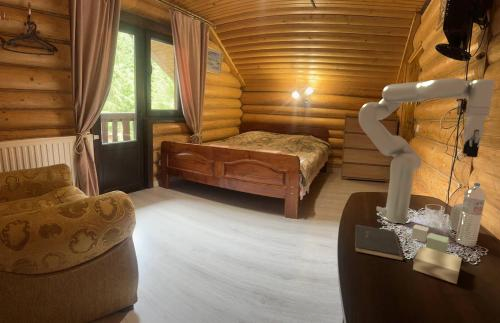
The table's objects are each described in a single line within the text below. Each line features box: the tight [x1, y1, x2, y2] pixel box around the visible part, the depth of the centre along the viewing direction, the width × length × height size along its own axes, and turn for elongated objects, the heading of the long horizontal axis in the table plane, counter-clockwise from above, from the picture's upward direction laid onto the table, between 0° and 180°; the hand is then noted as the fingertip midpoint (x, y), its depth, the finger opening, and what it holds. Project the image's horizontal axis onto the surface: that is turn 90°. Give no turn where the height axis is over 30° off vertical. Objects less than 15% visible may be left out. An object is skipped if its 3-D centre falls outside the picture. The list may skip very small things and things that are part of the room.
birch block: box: [412, 245, 463, 285], centre depth 100 cm, size 12×12×4 cm
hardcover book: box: [354, 224, 405, 261], centre depth 118 cm, size 16×23×2 cm
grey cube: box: [410, 224, 430, 243], centre depth 124 cm, size 5×5×5 cm
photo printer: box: [448, 202, 463, 233], centre depth 135 cm, size 10×4×12 cm, turn 101°
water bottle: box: [455, 182, 487, 248], centre depth 120 cm, size 7×7×25 cm
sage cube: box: [425, 232, 450, 253], centre depth 112 cm, size 6×6×6 cm
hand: (469, 155), depth 122 cm, fingers open, 9 cm apart
